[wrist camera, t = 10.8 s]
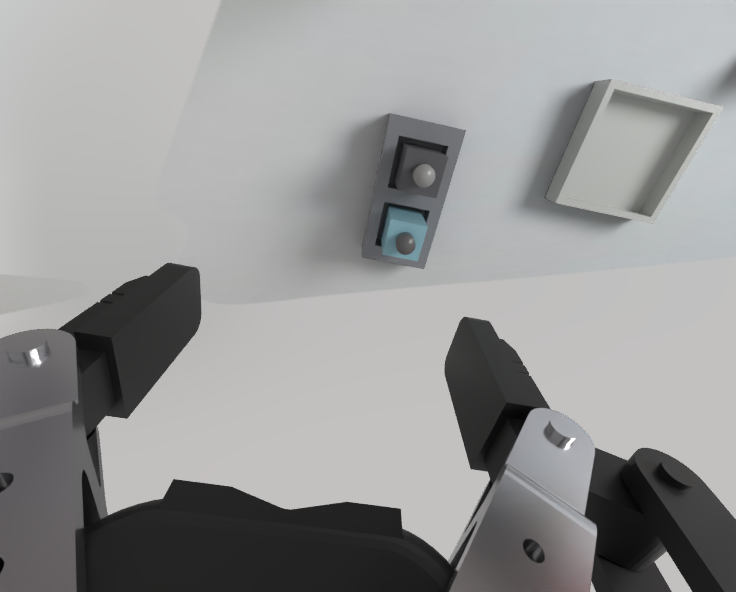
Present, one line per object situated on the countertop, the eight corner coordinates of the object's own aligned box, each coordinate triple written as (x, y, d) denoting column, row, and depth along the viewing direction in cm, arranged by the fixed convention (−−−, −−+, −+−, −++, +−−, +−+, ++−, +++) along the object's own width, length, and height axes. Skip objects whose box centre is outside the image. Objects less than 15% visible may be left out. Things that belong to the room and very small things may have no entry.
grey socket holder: (389, 113, 38) (390, 113, 35) (458, 129, 39) (465, 130, 35) (362, 247, 45) (361, 257, 42) (420, 258, 46) (424, 268, 43)
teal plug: (388, 203, 42) (391, 223, 34) (419, 209, 42) (430, 231, 34) (381, 234, 43) (382, 259, 36) (411, 240, 44) (419, 266, 36)
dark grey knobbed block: (402, 142, 38) (409, 149, 31) (436, 149, 39) (451, 158, 31) (393, 178, 40) (398, 193, 33) (426, 185, 41) (438, 202, 33)
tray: (595, 81, 36) (612, 79, 34) (700, 107, 37) (724, 107, 35) (544, 197, 42) (555, 203, 40) (636, 217, 43) (652, 224, 41)
